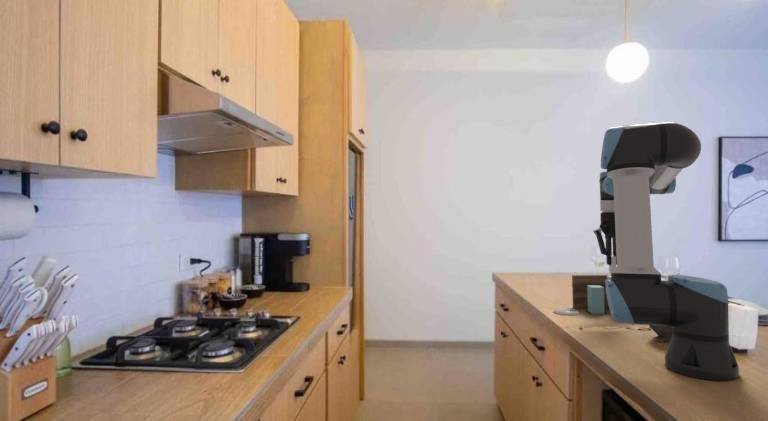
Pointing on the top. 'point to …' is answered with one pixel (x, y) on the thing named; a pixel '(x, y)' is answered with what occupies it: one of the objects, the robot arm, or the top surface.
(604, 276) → the dark brown wooden box
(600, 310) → the block
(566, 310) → the saucer
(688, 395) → the top surface
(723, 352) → the robot arm
